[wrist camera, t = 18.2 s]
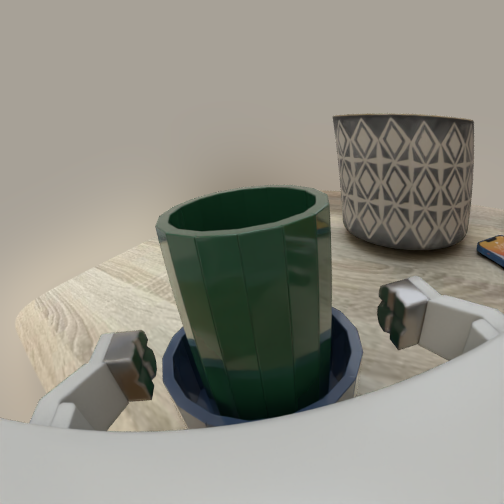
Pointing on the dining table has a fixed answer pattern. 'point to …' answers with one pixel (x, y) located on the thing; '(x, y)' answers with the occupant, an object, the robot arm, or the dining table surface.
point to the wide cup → (202, 416)
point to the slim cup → (254, 295)
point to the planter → (405, 178)
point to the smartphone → (493, 248)
